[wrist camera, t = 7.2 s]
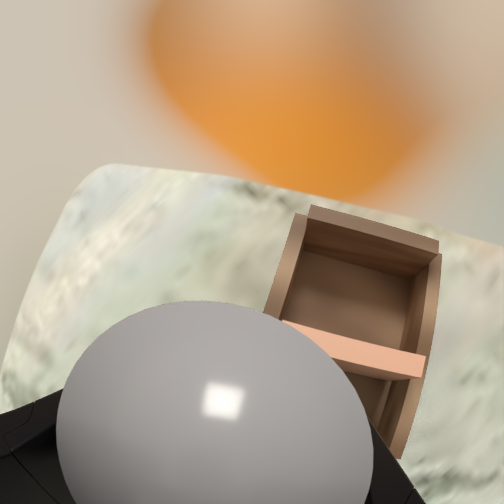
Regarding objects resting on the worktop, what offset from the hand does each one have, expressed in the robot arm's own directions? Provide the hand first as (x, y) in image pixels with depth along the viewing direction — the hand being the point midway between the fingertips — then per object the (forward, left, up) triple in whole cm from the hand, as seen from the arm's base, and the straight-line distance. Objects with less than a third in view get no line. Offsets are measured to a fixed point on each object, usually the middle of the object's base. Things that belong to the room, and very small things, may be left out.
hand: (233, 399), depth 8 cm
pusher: (+5, -2, -12) cm, 13 cm away
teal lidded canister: (-1, -1, -7) cm, 7 cm away
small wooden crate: (+7, 0, -13) cm, 15 cm away
